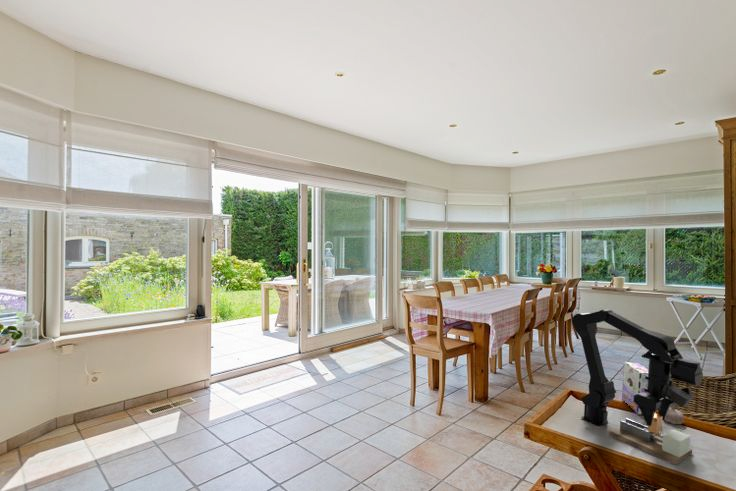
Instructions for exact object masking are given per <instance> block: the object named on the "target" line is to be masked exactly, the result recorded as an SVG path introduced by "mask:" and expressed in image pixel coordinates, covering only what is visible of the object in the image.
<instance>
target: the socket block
mask: <svg viewBox="0 0 736 491" xmlns="http://www.w3.org/2000/svg"><path fill="white" fill-rule="evenodd" d="M662 435H663V443H662V450H663V451H665V452H668V453H670V454H672V455H675V456H677V457H681V456H683V455H684V454H686V453H687V452H689V448H690V442H691V435H690V434H686V433H684V432H681V431H679V430H676V429H674V428H673V429H671V430H668V431H667V432H665V433H663V434H662Z"/></svg>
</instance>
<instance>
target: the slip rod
mask: <svg viewBox="0 0 736 491" xmlns="http://www.w3.org/2000/svg"><path fill="white" fill-rule="evenodd" d="M647 427H648V429H646V428H643V430H646V431H648V432H651V439H653V440H656V441H658V442H660V443H663V434H661V433H660V432H662V430H663V416H661V415H659V413H655V414H654V418H653V422H652V425H651V426H649V425H647Z"/></svg>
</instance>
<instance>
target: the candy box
mask: <svg viewBox="0 0 736 491" xmlns="http://www.w3.org/2000/svg"><path fill="white" fill-rule="evenodd" d="M648 369H649V368H646V367H645V366H643V365H642V364H641V363H638V362H633V361H632V362H631V361H630V362H629V361H624V362H623V373H622V374H623V377H622V393H621V395H622V396H621V401H625V402H627V403H628V404H631V405H632V406H633V410H634V411H633V410H632V411H633V412H634V413H636V415H641V416H643V415H642V413H641V410H640V409H639V407H638V405H637V404H636V403H635V402H634V401H633V400H634V395H636V394H639V393H641V392H643V393H646V394H649V393H648V392H645V391H644V389H645V388H647V383H648V380H647V379H645V376H647V375H648ZM649 395H650V394H649ZM625 402H624V403H625Z"/></svg>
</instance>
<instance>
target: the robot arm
mask: <svg viewBox="0 0 736 491" xmlns="http://www.w3.org/2000/svg"><path fill="white" fill-rule="evenodd" d="M602 322H604V323H607V324H608V325H610V326H612V327H614V328H615V329H617V330H619V331H621V332H623V333H624V334H626V335H628V336H630V337H631V338H633V339H635V340H636V341H637V342H639V343H640V344H641V346H642V347H644V348H645V349H646V350H647V351H646V352H645V353H644V354H641V358H644V359H648V368H647V369H648V375H647V376H645V379H647V380H648V383H647V388H645V389H644V391H645V392H648V393H649V394H650V395H649V394H646V393H643V392H641V393H639V394H636V395H634V400H633V401H634V402H635V403H636V404H637V405H638V407H639V409H640V410H641V413H642V415H641V416H642V417H643V419H644V421H645V423H646V426H648V425H649V426H651V425H652V422H653V418H654V414H656V411H657V412H658V413H657V414H658V415H661V416H663V419H662V421H663V420H664V421H665V417H666V415H667V412H668V410H669V408H670V407H671V404H672V403H674V402H675V404H676V405H677V406H679V407H680V408H685V407H687V406H689V404H690V402H691V401H692V400H693V399H694V398H693V397H694V395H693V394H692V393H693V390H692V389H691V388H690V387H688V386H684V387H683V388H681V387H680V386H676V385H674V384H675V383H674V380H675V381H679V382H682V383H685V384H690V385H691V386H692V385H693V386H696V387H699V386H700V385H701V384H702V381H703V378H704V372H703V369H702V367H701V363H700V362H697V361H691V360H686V359H684V357H683V356H682V354H681V353H680V351H679V350H678V348H677V347H676V343H675V340H674V339H673V338H672V337H671V336H669V335H666V334H663V333H660V332H657V331H654V330H650V329H647V328H644V327H642V326H640V325H638V324H636V323H635V322H633V321H631V320H629V319H627V318H626V317H623V316H622V315H620V314H617V313H616V312H614V311H613V310H611V309H609V308H606V309H600V310H599V311H595V312H587V311H586V312H579V313H576V314H574V315H573V316H572V318H571V324H572V325H573V329H574V331H575V332H576V334H577V335H578V337H580V340H581V343H582V348H583V352H584V357H585V359H586V360H585V361H586V364H587V368H588V373H589V378H590V379H589V383H588V394H586V395H584V396H582V397H581V400H582V404H584V408H583V416H581V417H580V418H581V419H582V420H584V421H586V422H588V423H591V424H593V425H596V426H598V427H599V426H603V425H605V424H608V423H609V420H608V410H607V405H608V404H610V402H612V401H613V400H614V399H615V398H616V393H617V390H616V389H615V383H614V381H613V380H609V379H608V378H607V377H606V374H605V371H604V370H605V369H604V366H603V363H602V358H601V354H600V349H599V345H598V343H597V339H596V335H597V330H598V324H599V323H602ZM671 378H673V379H674V380H673V379H671Z"/></svg>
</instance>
